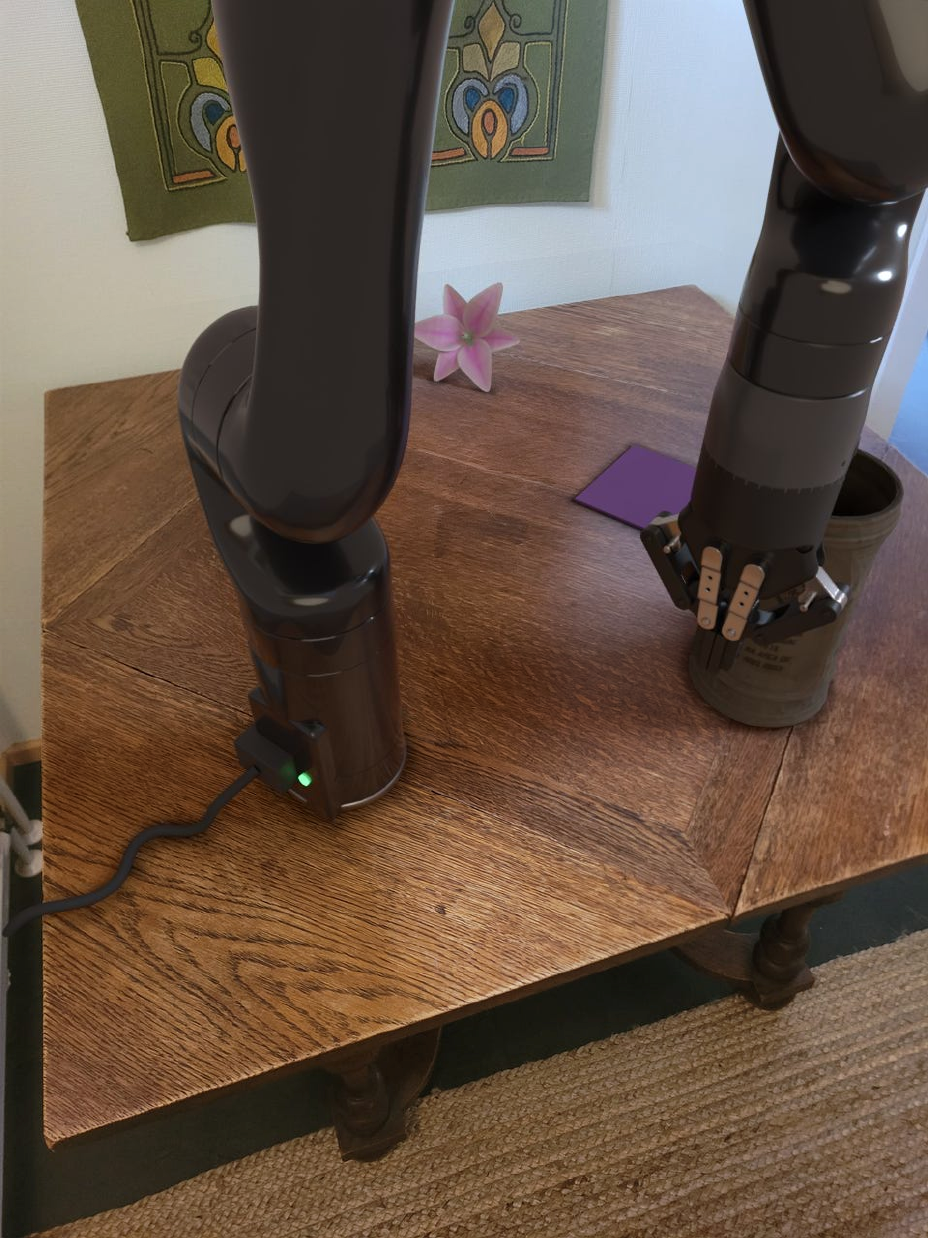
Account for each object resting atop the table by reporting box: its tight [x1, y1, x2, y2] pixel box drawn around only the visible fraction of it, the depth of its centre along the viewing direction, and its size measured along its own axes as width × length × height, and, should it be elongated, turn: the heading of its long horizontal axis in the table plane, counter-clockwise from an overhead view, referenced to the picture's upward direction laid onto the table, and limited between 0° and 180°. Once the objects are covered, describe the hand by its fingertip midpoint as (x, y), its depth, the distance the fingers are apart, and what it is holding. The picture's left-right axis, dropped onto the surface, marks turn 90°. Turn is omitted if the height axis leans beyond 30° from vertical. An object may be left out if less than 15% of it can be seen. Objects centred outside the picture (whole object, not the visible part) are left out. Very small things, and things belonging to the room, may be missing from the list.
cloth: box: [574, 444, 697, 531], centre depth 88 cm, size 12×10×1 cm
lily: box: [414, 282, 521, 393], centre depth 103 cm, size 12×12×10 cm
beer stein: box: [688, 447, 905, 728], centre depth 65 cm, size 15×11×20 cm
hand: (712, 663), depth 58 cm, fingers closed
